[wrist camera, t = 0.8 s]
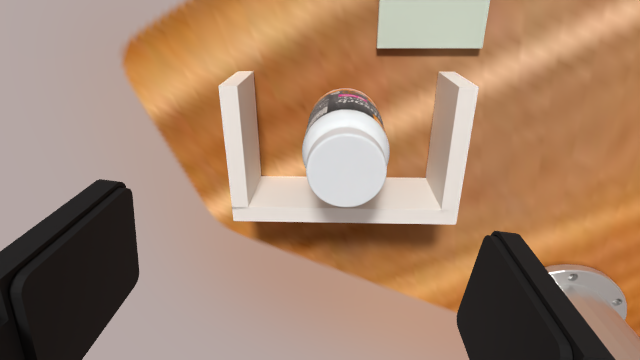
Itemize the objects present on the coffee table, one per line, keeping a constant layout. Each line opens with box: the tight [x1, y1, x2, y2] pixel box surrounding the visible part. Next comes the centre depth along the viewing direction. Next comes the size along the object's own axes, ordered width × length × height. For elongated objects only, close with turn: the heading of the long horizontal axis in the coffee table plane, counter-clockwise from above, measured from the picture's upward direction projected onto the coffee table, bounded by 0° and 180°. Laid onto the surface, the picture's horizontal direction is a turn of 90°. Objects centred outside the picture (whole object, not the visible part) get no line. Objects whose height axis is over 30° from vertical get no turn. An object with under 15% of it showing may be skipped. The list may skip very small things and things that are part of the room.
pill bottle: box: [302, 89, 390, 207], centre depth 27 cm, size 6×6×10 cm
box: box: [218, 71, 479, 224], centre depth 29 cm, size 10×16×6 cm, turn 90°
